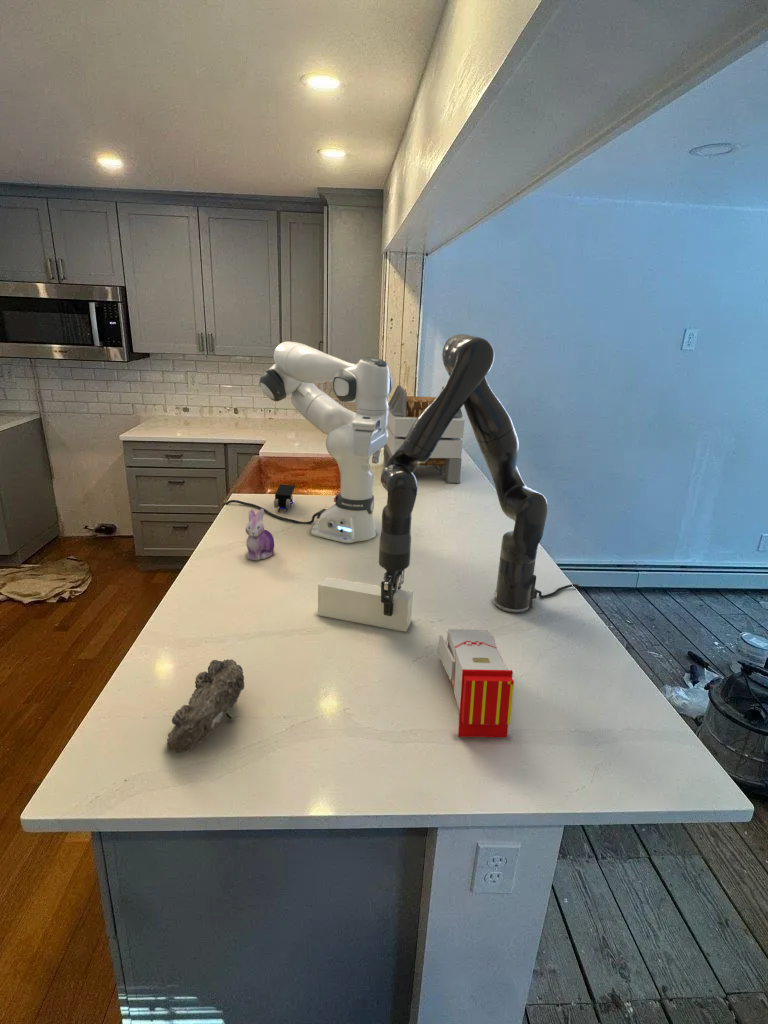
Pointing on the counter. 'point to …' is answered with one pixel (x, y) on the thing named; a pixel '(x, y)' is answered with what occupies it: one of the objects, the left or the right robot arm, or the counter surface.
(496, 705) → the toy
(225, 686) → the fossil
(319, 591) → the bar
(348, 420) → the left robot arm
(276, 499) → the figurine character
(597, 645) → the counter surface
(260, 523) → the figurine
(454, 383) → the right robot arm
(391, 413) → the slatted wooden crate
